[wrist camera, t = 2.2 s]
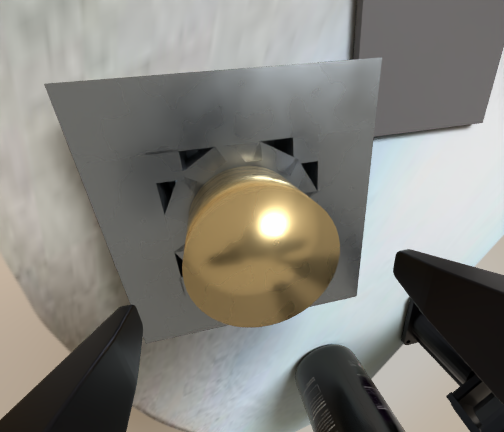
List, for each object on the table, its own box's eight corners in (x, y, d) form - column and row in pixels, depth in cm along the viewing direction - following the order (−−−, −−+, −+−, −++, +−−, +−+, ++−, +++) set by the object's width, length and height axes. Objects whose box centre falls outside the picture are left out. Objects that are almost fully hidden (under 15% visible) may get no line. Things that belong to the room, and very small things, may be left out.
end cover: (282, 232, 18) (336, 309, 11) (200, 247, 17) (199, 341, 10) (278, 148, 15) (344, 177, 8) (182, 160, 14) (163, 204, 7)
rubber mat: (473, 122, 18) (482, 122, 17) (347, 138, 16) (352, 139, 16) (537, -119, 13) (552, -129, 12) (365, -125, 11) (373, -137, 11)
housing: (328, 263, 20) (356, 296, 17) (157, 298, 18) (145, 343, 15) (337, 71, 15) (382, 57, 11) (89, 92, 13) (44, 84, 9)
